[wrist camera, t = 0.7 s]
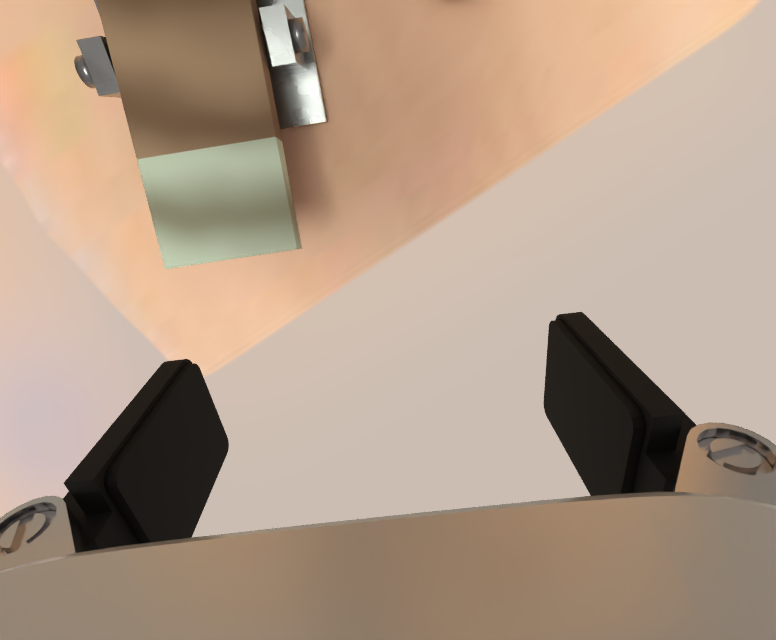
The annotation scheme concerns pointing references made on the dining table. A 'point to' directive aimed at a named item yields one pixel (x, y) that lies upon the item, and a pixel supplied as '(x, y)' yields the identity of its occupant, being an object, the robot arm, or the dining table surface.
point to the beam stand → (283, 52)
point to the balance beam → (203, 126)
